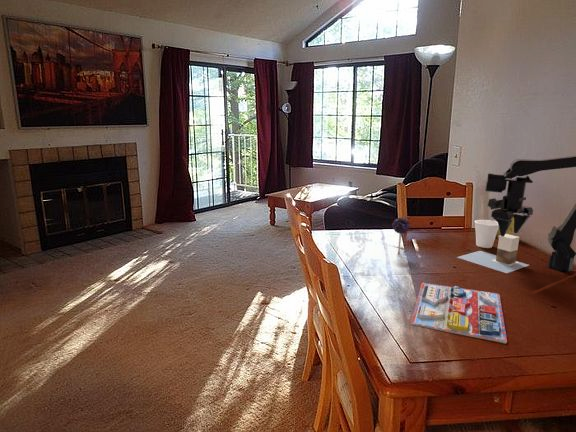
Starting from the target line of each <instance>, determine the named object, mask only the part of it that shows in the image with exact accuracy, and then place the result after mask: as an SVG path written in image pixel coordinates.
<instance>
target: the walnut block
mask: <svg viewBox="0 0 576 432" xmlns="http://www.w3.org/2000/svg"><path fill="white" fill-rule="evenodd" d="M496 248H497V250H496V254H495V255H496V261H498V262H502V263H505V264H508V265H509V264H512V263H515V262H516V261H517V255H518V250H515V251H512V252H509V251H506V250H502V249H498V247H496Z"/></svg>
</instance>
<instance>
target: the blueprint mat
mask: <svg viewBox="0 0 576 432" xmlns="http://www.w3.org/2000/svg"><path fill="white" fill-rule="evenodd" d="M496 255H497V254H494V253H493V254H492V253H490V252H487V251H486V252H485V251H482V250H477V251H474V252H471V253H467V254H463V255H460V256H457V257H456V258H458V259H460V260H464V261H467V262H469V263H472V264H477V265H480V266H483V267H486V268H489V269H492V270H495V271H498V272H502V273H505V274H509V273H512V272H514V271H517V270H520V269H522V268H526V267H528V266H530V264H527V263H524V262H520V261H517V260H516V262H515V263H512V264H509V265H508V264H505V263H502V262H498V261H496Z"/></svg>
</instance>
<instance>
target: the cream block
mask: <svg viewBox="0 0 576 432" xmlns="http://www.w3.org/2000/svg"><path fill="white" fill-rule="evenodd" d="M519 242H520V236H518V235H513V234H512V235H509V234H505V236H504V237H503V236H501V235H500V236H499V238H498V242H497V243H498V244H497V248H498V249H502V250H506V251H509V252H512V251H515V250H517V251H518V248H519Z"/></svg>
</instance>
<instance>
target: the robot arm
mask: <svg viewBox="0 0 576 432" xmlns="http://www.w3.org/2000/svg"><path fill="white" fill-rule="evenodd" d="M569 168H576V155H570V156H562V157H553V158H544V159H528V158H525V159H524V158H518V159H517V158H516V159H514V160H512V162H510V165H509V168H508V169H507V170H506V171H504V172H503V174H497V173H487V178H486V180H485V187H484V191H485V192H487V193H488V192H489V193H502V192H503V191H506V195H503V197H502V199H496V197H495V198H490V199H488V202H487V207H489V208H490V210H492V211H491V212H490V213H491V214H490V217H491V218H492V219H493V220H494V221H497V222H498V225H499V229H500V234H501V236H503V237H504V236H505V234H506V232H507V230H508V228H509V226H510V224H511V222H512V220H511V219H512V217H514V227H513V234H518V233H519V232H520V230H521V229H522V227H523V226H524V225H525V224H526V222H527V221H528V219H529V218H531V216H532V215H533V213H534V209H533V207H532V206H527V205H524V201H526V200H527V197H526V196H525V193H526V187H527V184H528V183H529V184H532V183H533V182H534V181H533V180H532V179H531V178H530V176H529V175H532V174H534V173H538V172H542V171H551V170H558V169H559V170H561V169H569ZM499 208H501V209H499ZM575 232H576V203H575V204H574V206H573V207H572V209H571V210H570V211H569V213H568V215H567V217H566V218H565V219H564V220H563V222H562V224H560V225H559V226H558V227H557V226H556V225H553V226H552V229H551V231H550V232H549V233H547V236H548V239H547V241H548V244H549V245H550V247H551V248H552V249H553V251H552V252H551V255H550V256H549V260H548V265H547V266H548V267H547V269H550V270H554V271H558V272H561V273H565V274H566V272H568V273H570V272H573V271H574V269H573V265H574V262H575V258H576V251H575V250H574V249H573V247H572V246H571V245H572V243H573V240H574V236H575ZM564 271H565V272H564ZM569 271H570V272H569Z"/></svg>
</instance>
